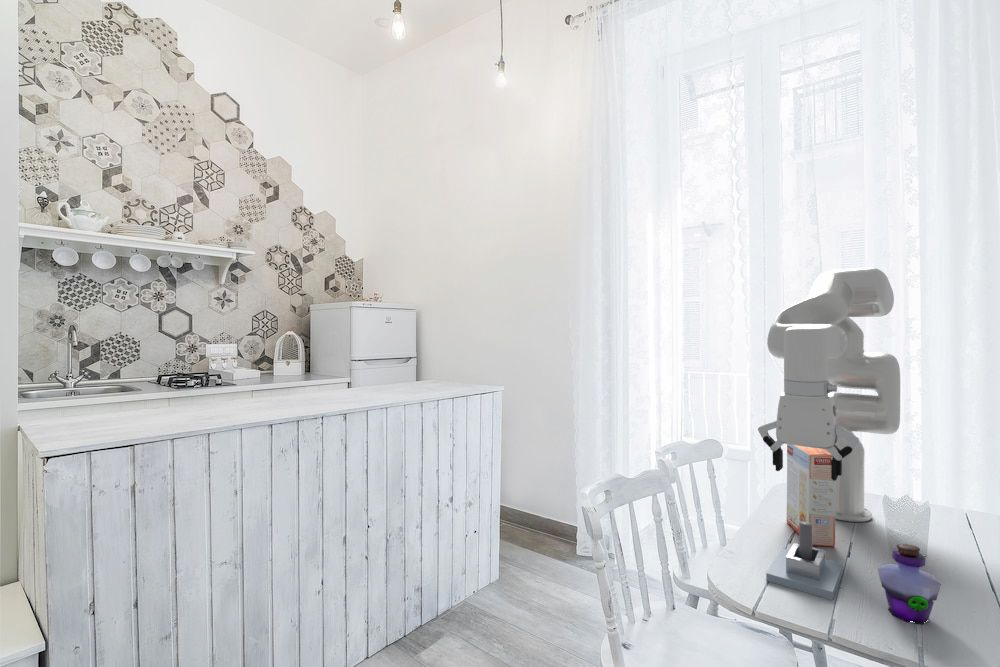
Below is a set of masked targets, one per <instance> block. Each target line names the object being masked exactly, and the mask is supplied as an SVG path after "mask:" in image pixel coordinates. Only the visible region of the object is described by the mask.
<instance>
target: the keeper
mask: <svg viewBox="0 0 1000 667" xmlns="http://www.w3.org/2000/svg"><path fill="white" fill-rule="evenodd" d="M798 544H799V558H801V559H805V560H809V561H812V547H813V545H812V524H811V523H808V522H799V534H798ZM789 551H790V549H787V548H784V547H783V548H782V549H781V550H780V551H779V553H778V555H777V556H776V557H775V560H774V561H772V562H773V563H772V564H770V567H769V568H768V570H767V571H766V573H765V574H766V576H765V577H766V578H765V579H766V582H770V583H773V584H776V585H780V586H783V587H787V588H791V589H792V590H797V591H800V592H803V593H807V594H811V595H813V596H818V597H820V598H824V599H827V600H830V601H833V600H834V597H835V595H836V592H837V590H838V586H839V583H840V581H841V578H842V576H843V574H844V573H843V572H844V563H843V562H839V561H834V560H830V559H827V558H825V567H824V570H823V573H822V575H821V578H820V581H818V580H814V579H810V578H807V577H803V576H799V575H796V574H792V573H788V572H786V556H787V554H788V553H789Z"/></svg>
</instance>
